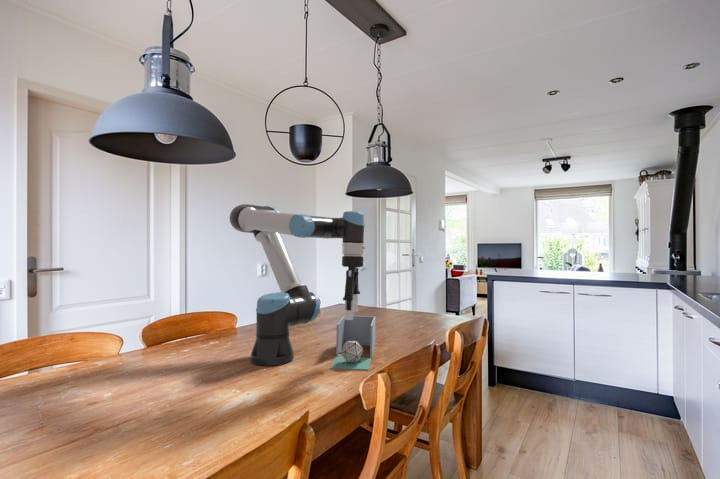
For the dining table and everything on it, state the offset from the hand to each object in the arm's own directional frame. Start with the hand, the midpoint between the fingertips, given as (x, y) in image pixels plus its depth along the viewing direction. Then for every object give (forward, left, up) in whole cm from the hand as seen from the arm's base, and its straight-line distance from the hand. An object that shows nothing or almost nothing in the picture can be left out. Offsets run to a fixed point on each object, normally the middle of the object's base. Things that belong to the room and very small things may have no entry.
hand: (351, 315), depth 131 cm
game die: (0, 0, -17) cm, 17 cm away
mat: (0, 0, -17) cm, 17 cm away
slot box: (0, +16, -17) cm, 23 cm away
